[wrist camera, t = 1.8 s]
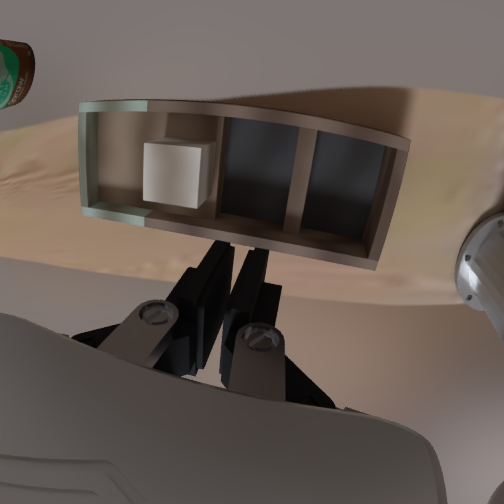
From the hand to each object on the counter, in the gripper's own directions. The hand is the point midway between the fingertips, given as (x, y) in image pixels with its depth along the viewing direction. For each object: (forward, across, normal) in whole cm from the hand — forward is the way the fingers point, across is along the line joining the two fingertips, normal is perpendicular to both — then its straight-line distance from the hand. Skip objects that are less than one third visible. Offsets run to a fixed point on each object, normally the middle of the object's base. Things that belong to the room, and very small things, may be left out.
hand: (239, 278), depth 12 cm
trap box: (+19, +5, 0) cm, 20 cm away
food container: (+19, +35, -10) cm, 41 cm away
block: (+17, +8, 0) cm, 19 cm away
